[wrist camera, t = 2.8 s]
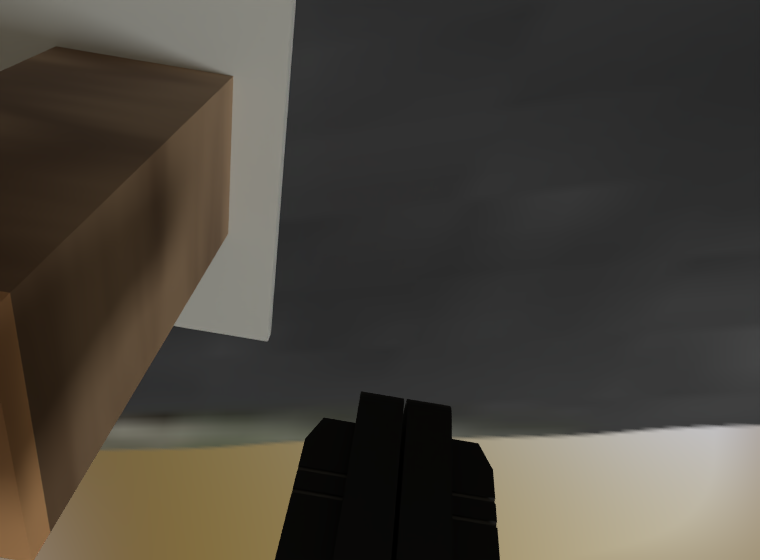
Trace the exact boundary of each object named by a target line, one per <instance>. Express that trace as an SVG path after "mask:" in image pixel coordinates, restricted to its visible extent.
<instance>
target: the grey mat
mask: <svg viewBox="0 0 760 560" xmlns="http://www.w3.org/2000/svg"><path fill="white" fill-rule="evenodd" d="M295 6H296V0H0V71H2V70H4V69H6V68H9V67H11V66H13V65H15V64H18V63H20V62H22V61H24V60H26V59H29V58H31V57H33V56H35V55H38V54H40V53H42V52H44V51H47V50H49V49H51V48H53V47H55V46H57V47H63V48H69V49H75V50H81V51H87V52H93V53H99V54H105V55H111V56H117V57H122V58H128V59H134V60H140V61H146V62H152V63H158V64H164V65H170V66H176V67H182V68H188V69H193V70H199V71H205V72H211V73H217V74H223V75H229V76H233V103H232V134H231V165H230V197H229V228H228V235H227V237H226V238H225V240H224V242H223V243H222V245H221V247H220V248H219V250H218V252H217V253H216V255H215V257H214V258H213V260H212V262H211V263H210V265H209V267H208V269H207V270H206V272H205V274H204V275H203V277H202V279H201V280H200V282H199V284H198V285H197V287H196V289H195V290H194V292H193V294H192V295H191V297H190V299H189V300H188V302H187V304H186V305H185V307H184V309H183V310H182V312H181V314H180V316H179V317H178V319H177V321H176V322H175V324H174V326H178V327H184V328H190V329H196V330H202V331H208V332H214V333H220V334H226V335H232V336H238V337H244V338H250V339H256V340H262V341H268V339H269V337H270V334H271V324H272V311H273V297H274V284H275V271H276V258H277V244H278V231H279V218H280V205H281V191H282V178H283V165H284V152H285V138H286V125H287V112H288V99H289V86H290V72H291V59H292V46H293V33H294V19H295Z"/></svg>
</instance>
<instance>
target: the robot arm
mask: <svg viewBox="0 0 760 560" xmlns="http://www.w3.org/2000/svg"><path fill="white" fill-rule="evenodd" d="M403 408H404V399H403V398H397V397H391V396H385V395H380V394H374V393H368V392H362V391H361V395H360V400H359V406H358V412H357V418H356V423H352V422H347V421H341V420H335V419H329V418H323V419H322V420H321V421H320V423H319V424H318V425H317V426H316V427H315V428H314V429H313V430H312V432H311V433H310V434H309V435H308V436H307V437H306V438H305V442H304V446H303V450H302V454H301V458H300V462H299V466H298V471H297V474H296V478H295V482H294V486H293V491H292V494H291V498H290V502H289V506H288V510H287V514H286V517H285V522H284V526H283V529H282V533H281V538H280V541H279V546H278V550H277V553H276V558H275V560H500V556H499V543H498V530H497V528H496V523H497V517H496V504H495V503H494V501H495V492H494V479H493V478H494V477H493V469H492V467H491V466H490V464H489V462H488V460H487V458H486V456H485V455H484V453H483V451H482V449H481V447H480V446H479V444H478V443H473V442H467V441H461V440H455V439H452V413H451V407H450V406H446V405H440V404H434V403H428V402H422V401H416V400H410V399H407V401H406V404H405V408H404V413H403Z"/></svg>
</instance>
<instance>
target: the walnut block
mask: <svg viewBox="0 0 760 560" xmlns="http://www.w3.org/2000/svg"><path fill="white" fill-rule="evenodd" d="M232 103H233V76H229V75H223V74H217V73H211V72H205V71H199V70H193V69H188V68H182V67H176V66H170V65H164V64H158V63H152V62H146V61H140V60H134V59H128V58H122V57H117V56H111V55H105V54H99V53H93V52H87V51H81V50H75V49H69V48H63V47H57V46H55V47H53V48H51V49H49V50H47V51H44V52H42V53H40V54H38V55H35V56H33V57H31V58H29V59H26V60H24V61H22V62H20V63H18V64H15V65H13V66H11V67H9V68H6V69H4V70H2V71H0V557H1V558H8V559H14V560H34V559H35V557H36V556H37V554H38V552H39V551H40V549H41V547H42V546H43V544H44V542H45V541H46V539H47V537H48V535H49V534H50V532H51V531H52V529H53V527H54V525H55V524H56V522H57V520H58V519H59V517H60V515H61V514H62V512H63V510H64V509H65V507H66V505H67V504H68V502H69V500H70V498H71V497H72V495H73V494H74V492H75V490H76V489H77V487H78V485H79V483H80V482H81V480H82V478H83V477H84V475H85V473H86V472H87V470H88V468H89V467H90V465H91V463H92V462H93V460H94V458H95V457H96V455H97V453H98V452H99V450H100V448H101V447H102V445H103V443H104V441H105V440H106V438H107V436H108V435H109V433H110V431H111V430H112V428H113V426H114V425H115V423H116V421H117V420H118V418H119V416H120V415H121V413H122V411H123V410H124V408H125V406H126V405H127V403H128V401H129V400H130V398H131V396H132V394H133V393H134V391H135V389H136V388H137V386H138V384H139V383H140V381H141V379H142V378H143V376H144V374H145V373H146V371H147V369H148V368H149V366H150V364H151V363H152V361H153V359H154V358H155V356H156V354H157V352H158V351H159V349H160V347H161V346H162V344H163V342H164V341H165V339H166V337H167V336H168V334H169V332H170V331H171V329H172V327H173V326H174V324H175V322H176V321H177V319H178V317H179V316H180V314H181V312H182V310H183V309H184V307H185V305H186V304H187V302H188V300H189V299H190V297H191V295H192V294H193V292H194V290H195V289H196V287H197V285H198V284H199V282H200V280H201V279H202V277H203V275H204V274H205V272H206V270H207V269H208V267H209V265H210V263H211V262H212V260H213V258H214V257H215V255H216V253H217V252H218V250H219V248H220V247H221V245H222V243H223V242H224V240H225V238H226V237H227V235H228V228H229V197H230V165H231V134H232Z"/></svg>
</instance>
